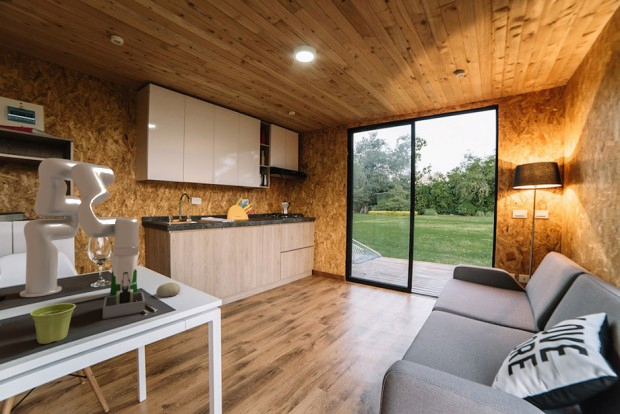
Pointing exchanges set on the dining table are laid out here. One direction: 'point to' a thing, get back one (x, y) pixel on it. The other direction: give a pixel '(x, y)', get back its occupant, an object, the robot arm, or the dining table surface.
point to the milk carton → (113, 279)
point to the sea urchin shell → (168, 289)
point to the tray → (123, 306)
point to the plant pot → (52, 322)
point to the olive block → (119, 296)
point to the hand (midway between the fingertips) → (124, 299)
